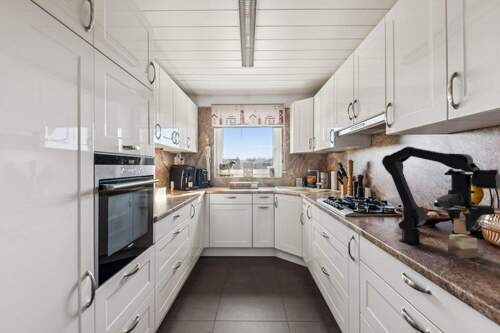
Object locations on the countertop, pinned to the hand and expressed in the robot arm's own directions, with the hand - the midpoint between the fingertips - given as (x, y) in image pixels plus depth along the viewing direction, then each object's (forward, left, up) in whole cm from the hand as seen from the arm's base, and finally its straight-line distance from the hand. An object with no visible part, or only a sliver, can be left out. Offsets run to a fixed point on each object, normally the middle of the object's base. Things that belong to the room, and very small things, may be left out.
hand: (461, 229), depth 93 cm
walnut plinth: (0, 0, -10) cm, 10 cm away
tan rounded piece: (0, 0, -1) cm, 1 cm away
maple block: (0, 0, -6) cm, 6 cm away
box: (-34, +6, -10) cm, 36 cm away
